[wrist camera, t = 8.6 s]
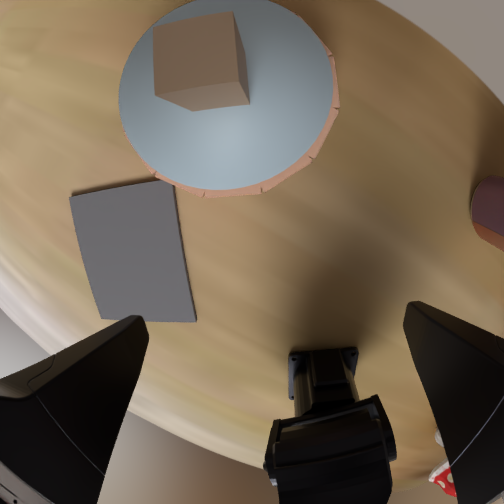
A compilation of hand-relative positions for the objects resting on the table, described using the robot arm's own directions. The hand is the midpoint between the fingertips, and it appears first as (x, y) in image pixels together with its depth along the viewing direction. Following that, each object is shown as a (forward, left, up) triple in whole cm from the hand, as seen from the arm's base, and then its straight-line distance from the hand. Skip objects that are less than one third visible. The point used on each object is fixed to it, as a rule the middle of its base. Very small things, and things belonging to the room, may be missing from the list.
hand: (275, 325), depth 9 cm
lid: (+9, +2, -8) cm, 12 cm away
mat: (-2, +12, -12) cm, 17 cm away
